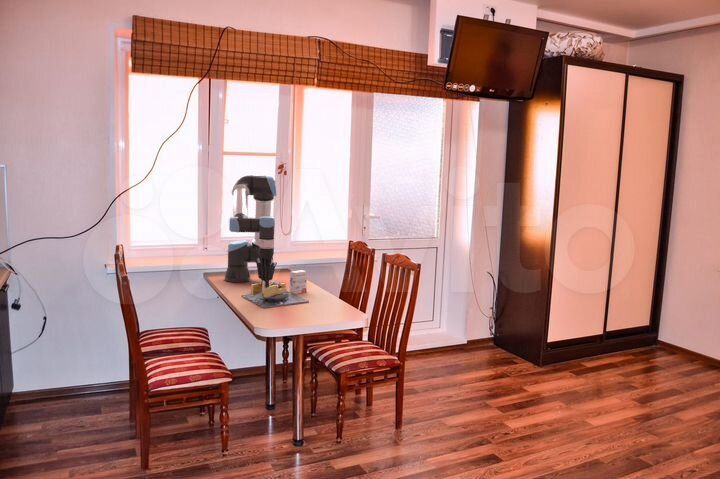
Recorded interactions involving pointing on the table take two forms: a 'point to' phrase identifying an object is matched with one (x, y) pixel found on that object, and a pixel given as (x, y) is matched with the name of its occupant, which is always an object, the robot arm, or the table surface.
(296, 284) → the ink box
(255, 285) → the octagonal ring stand
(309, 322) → the table surface
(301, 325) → the table surface
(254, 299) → the cap plate
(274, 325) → the table surface
